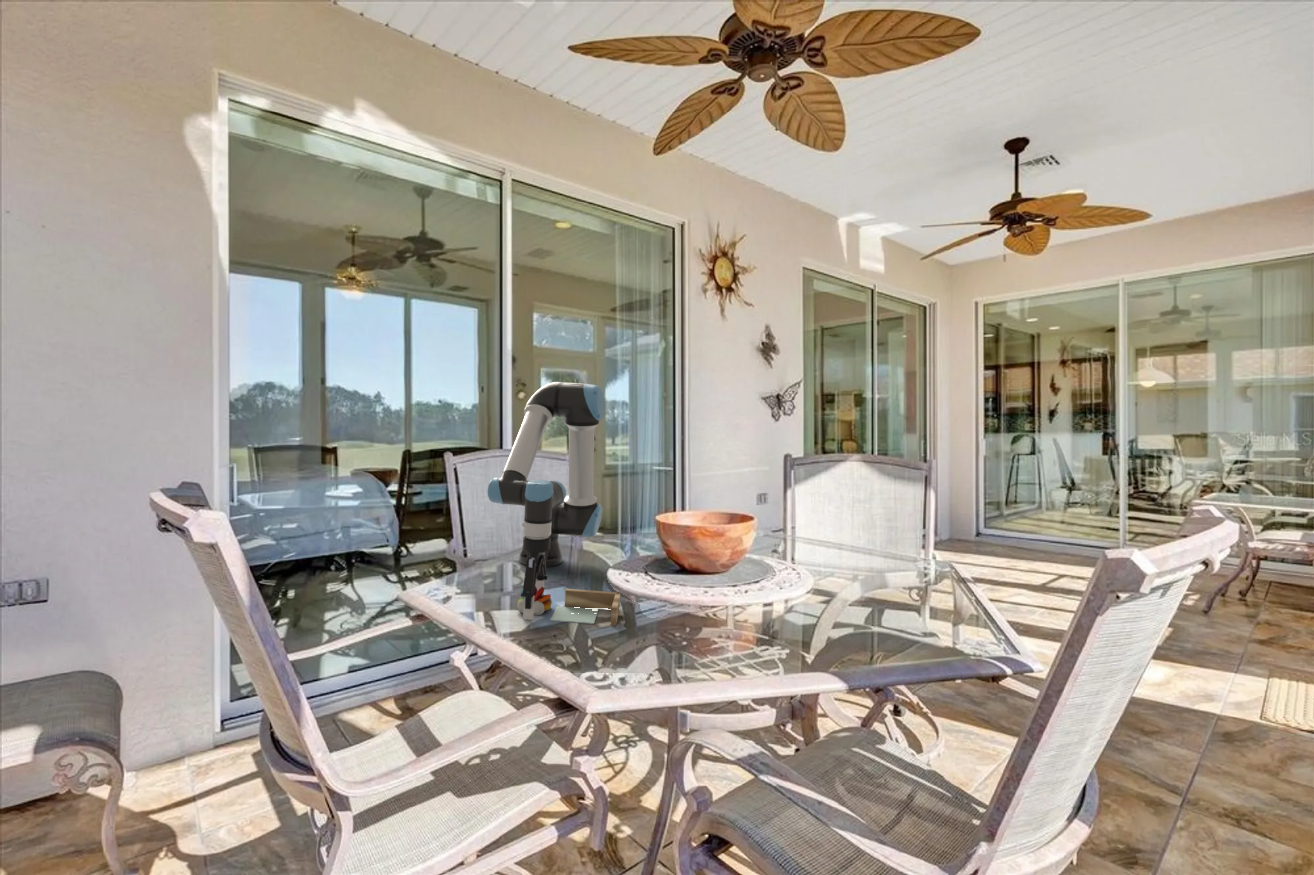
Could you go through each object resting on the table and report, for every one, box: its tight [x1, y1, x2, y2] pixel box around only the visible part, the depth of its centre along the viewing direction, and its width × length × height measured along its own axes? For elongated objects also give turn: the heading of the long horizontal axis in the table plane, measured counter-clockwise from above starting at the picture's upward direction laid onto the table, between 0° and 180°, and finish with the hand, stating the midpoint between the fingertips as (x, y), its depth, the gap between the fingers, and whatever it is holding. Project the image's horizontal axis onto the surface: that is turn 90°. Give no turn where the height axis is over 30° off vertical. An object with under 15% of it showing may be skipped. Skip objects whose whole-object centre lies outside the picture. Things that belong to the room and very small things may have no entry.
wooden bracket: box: [563, 588, 622, 626], centre depth 175 cm, size 12×16×5 cm
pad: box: [550, 605, 599, 625], centre depth 174 cm, size 10×12×1 cm
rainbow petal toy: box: [516, 586, 553, 616], centre depth 175 cm, size 8×10×7 cm
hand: (533, 610), depth 175 cm, fingers open, 12 cm apart
